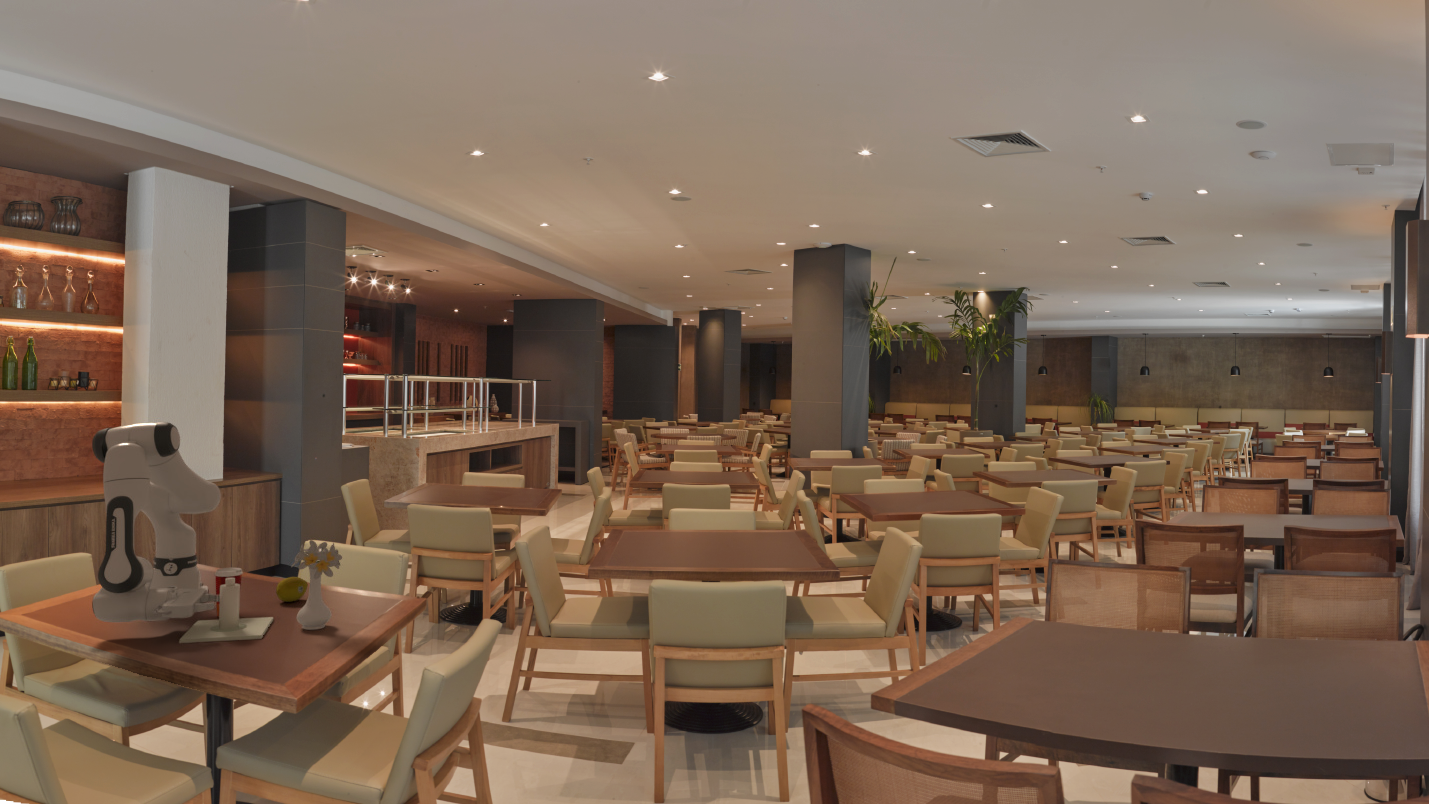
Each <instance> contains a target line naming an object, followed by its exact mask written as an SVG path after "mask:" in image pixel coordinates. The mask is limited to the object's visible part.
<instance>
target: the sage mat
mask: <svg viewBox="0 0 1429 804" xmlns="http://www.w3.org/2000/svg"><path fill="white" fill-rule="evenodd" d="M273 621H274V617H273V616H267V617H266V616H265V617H245V618H243V617H242V618H241V617H240V618H239V627H237V628H234V629H219V619H201V620H200V619H199V620H197V621H196V622H194V624H193V625H192V626H191V627H190V628H189V629H188V630H187V631H186V632H185V633H184V634H183V635H182V636H181V637H180V638H179V644H186V643H187V644H189V643H205V642H225V641H238V640H239V641H243V640H261V639H262V638H263V637H264V636H263V635H265V634H266V632H267V631H268V629H269V628H270V627H271V625H270V624H272V623H273ZM268 627H269V628H268Z"/></svg>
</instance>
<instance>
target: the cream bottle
mask: <svg viewBox="0 0 1429 804" xmlns="http://www.w3.org/2000/svg"><path fill="white" fill-rule="evenodd" d="M240 598H241V588H240V584H235V578H226V580H225V584H224V585H221V586H220V605H219V617H218V620H219V629H234V628H237V627H239V619H240Z"/></svg>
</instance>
